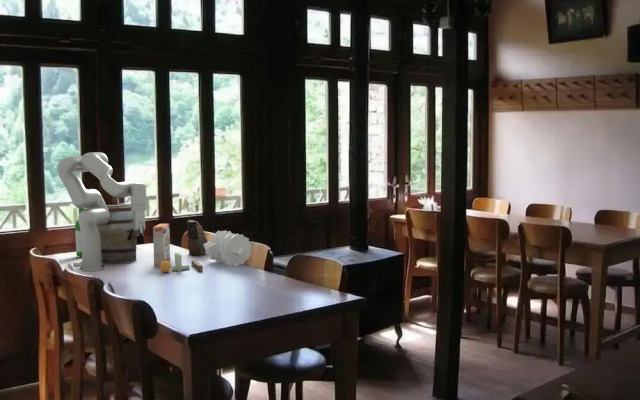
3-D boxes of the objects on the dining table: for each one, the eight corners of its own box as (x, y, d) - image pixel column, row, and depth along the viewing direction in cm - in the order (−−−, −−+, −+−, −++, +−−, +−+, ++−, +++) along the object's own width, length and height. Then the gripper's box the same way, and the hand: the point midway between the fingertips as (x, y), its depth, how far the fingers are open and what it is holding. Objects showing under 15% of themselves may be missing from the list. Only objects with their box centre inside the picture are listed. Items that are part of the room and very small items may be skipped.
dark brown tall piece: (200, 257, 388) (198, 222, 386) (180, 256, 392) (179, 221, 390) (211, 253, 400) (210, 219, 398) (192, 252, 404) (190, 218, 402)
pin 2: (177, 271, 349) (177, 255, 348) (176, 270, 351) (176, 254, 350) (182, 271, 350) (181, 254, 349) (181, 270, 352) (180, 254, 351)
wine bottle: (86, 258, 389) (83, 205, 386) (73, 257, 391) (71, 205, 388) (93, 255, 397) (91, 203, 394) (81, 255, 399) (78, 203, 395)
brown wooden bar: (198, 272, 348) (198, 266, 347) (191, 265, 364) (191, 260, 364) (202, 271, 348) (202, 265, 348) (195, 265, 365) (195, 259, 365)
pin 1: (175, 269, 353) (175, 253, 353) (174, 269, 356) (174, 252, 355) (180, 269, 354) (179, 253, 353) (179, 268, 357) (179, 252, 356)
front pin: (172, 267, 350) (189, 265, 353) (171, 265, 352) (188, 264, 355) (172, 271, 350) (189, 270, 354) (171, 270, 353) (188, 268, 356)
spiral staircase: (224, 266, 380) (248, 271, 360) (197, 256, 370) (220, 261, 350) (235, 235, 384) (259, 238, 364) (209, 224, 374) (232, 227, 354)
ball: (172, 273, 347) (160, 275, 346) (172, 266, 352) (160, 269, 351) (170, 263, 344) (158, 266, 343) (169, 257, 349) (157, 259, 348)
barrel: (145, 259, 381) (143, 205, 379) (110, 264, 363) (109, 207, 361) (119, 256, 394) (118, 204, 393) (85, 261, 376) (84, 206, 375)
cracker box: (165, 266, 364) (163, 226, 362) (153, 266, 364) (152, 226, 362) (171, 260, 378) (169, 223, 376) (160, 261, 378) (158, 223, 376)
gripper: (129, 206, 348) (130, 242, 350) (133, 209, 334) (134, 246, 336) (144, 205, 351) (145, 241, 352) (148, 208, 337) (150, 245, 339)
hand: (140, 243), depth 344 cm, fingers closed
